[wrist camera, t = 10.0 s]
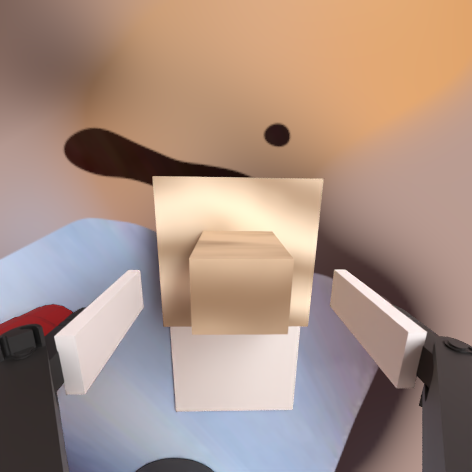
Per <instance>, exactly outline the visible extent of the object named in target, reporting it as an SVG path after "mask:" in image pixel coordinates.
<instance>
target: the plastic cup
mask: <svg viewBox="0 0 472 472" xmlns="http://www.w3.org/2000/svg"><path fill="white" fill-rule="evenodd" d="M72 313H73V312H72V311H71V310H69V309H67V308H65V307H63V306H60V305H54V304H52V305H45V306H42V307H38V308H36V309H34V310H32V311H30V312H28V313H26V314H23V315H21V316H19V317H15V318H13V319H11V320H9V321H6V322H4V323H2V324H0V335H2V334H3V333H5V332H7V331H9V330H11V329H13V328H16V327H19V326H23V325H27V324H39V325H41V326H42V328H43V332H44V336H46V335H47V334H48V333H49V332H50V331H52V330H53V329H54V328H55V327H56V326H58V325H59V324H60V323H61V322H62V321H64V320H65V319H66V318H67V317H68V316H69V315H70V314H72Z"/></svg>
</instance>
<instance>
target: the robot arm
mask: <svg viewBox="0 0 472 472" xmlns="http://www.w3.org/2000/svg"><path fill="white" fill-rule="evenodd" d="M330 307H331V308H332V309H333V310H334V311H335V313H336V314H337V315H338V316H339V318H340V319H341V320H342V321H343V323H344V324H345V325H346V326H347V328H348V329H349V330H350V331H351V333H352V334H353V335H354V336H355V337H356V339H357V340H358V341H359V342H360V344H361V345H362V346H363V347H364V349H365V350H366V351H367V352H368V354H369V355H370V356H371V357H372V358H373V360H374V361H375V362H376V363H377V365H378V366H379V367H380V368H381V370H382V371H383V372H384V373H385V375H386V376H387V377H388V378H389V379H390V381H391V382H392V383H393V384H394V386H395V387H396V388H414V385H415V381H416V377H417V376H418V377H419V378H420V379H421V380H422V382H423V383H424V387H423V391H422V395H421V399H420V403H419V406H421V407H422V409H423V411H422V413H423V414H422V421H423V422H422V423H423V424H422V426H423V427H422V428H423V437H422V439H423V440H422V441H423V442H422V443H423V445H422V446H423V448H422V449H423V451H422V453H423V456H422V460H423V461H422V462H423V463H422V466H423V469H422V472H472V347H471V346H470V345H468V344H466V343H464V342H462V341H459V340H457V339H454V338H450V337H442V336H438V335H437V334H436V333H434V332H433V331H432V330H430V329H429V328H427V327H426V326H425V325H423V324H422V323H421V322H418V320H417V319H415V318H414V317H412V316H411V315H410V314H409V313H407V312H406V311H404V310H403V309H401V308H399V307H396V306H395V305H391V304H390V303H388V302H387V301H386V300H384V299H383V298H382V297H380V296H379V295H378V294H377V293H375V292H374V291H373V290H371V289H370V288H369V287H367V286H366V285H365V284H363V283H362V282H361V281H360V280H358V279H357V278H355V277H354V276H353V275H352V274H350V273H349V272H348V271H346V270H334V277H333V286H332V294H331V302H330ZM142 309H143V296H142V286H141V275H140V270H128V271H127V272H126V273H125V274H124V275H122V276H121V277H120V278H119V279H118V280H117V281H116V282H115V283H113V284H112V285H111V286H110V287H109V288H108V289H107V290H106V291H104V292H103V293H102V294H101V295H100V296H99V297H98V298H97V299H96V300H94V301H93V302H92V303H91V304H90V305H89V306H88V307H87V308H81V309H79V310H77V311H75V312H73V313H72V314H70V315H69V316H68V317H67V318H66V319H65V320H64V321H62V322H61V323H60V324H59V325H58V326H56V327H55V328H54V329H53V330H52V331H50V332H49V333H48V334H47V335H46V336H44V332H43V328H42V326H41V325H39V324H27V325H23V326H19V327H16V328H13V329H11V330H9V331H7V332H5V333H3V334H2V335H0V472H69V468H68V461H67V455H66V449H65V442H64V436H63V429H62V423H61V416H60V410H59V403H58V397H57V393H56V392H57V390H58V389H59V388H60V387H61V386H62V384H63V383H64V387H65V392H66V395H75V394H86V392H87V391H88V389H89V388H90V386H91V385H92V383H93V382H94V380H95V379H96V377H97V376H98V374H99V373H100V371H101V370H102V368H103V367H104V365H105V364H106V363H107V361H108V360H109V358H110V357H111V355H112V354H113V352H114V351H115V349H116V348H117V346H118V345H119V343H120V342H121V340H122V339H123V337H124V336H125V334H126V333H127V331H128V330H129V328H130V327H131V325H132V324H133V322H134V321H135V319H136V318H137V316H138V315H139V313H140V312H141V310H142ZM137 472H214V471H212V470H211V469H210V468H208V467H206V466H205V465H203V464H200V463H198V462H195V461H191V460H186V459H164V460H159V461H155V462H152V463H150V464H148V465H145V466H144V467H142V468H141V469H139V470H138V471H137Z"/></svg>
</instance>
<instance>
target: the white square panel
mask: <svg viewBox="0 0 472 472" xmlns="http://www.w3.org/2000/svg"><path fill="white" fill-rule="evenodd" d="M170 332H171V346H172V360H173V375H174V389H175V403H176V412H179V411H244V410H293V399H294V388H295V378H296V367H297V356H298V345H299V334H300V326H289V327H288V334H273V335H192V327H170Z"/></svg>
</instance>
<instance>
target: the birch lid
mask: <svg viewBox="0 0 472 472" xmlns="http://www.w3.org/2000/svg"><path fill="white" fill-rule="evenodd" d="M322 188H323V179H296V178H295V179H293V178H292V179H291V178H231V177H167V176H153V189H154V202H155V217H156V231H157V244H158V258H159V272H160V285H161V299H162V313H163V327H192V335H273V334H288V327H289V326H308V320H309V310H310V301H311V291H312V282H313V273H314V263H315V254H316V244H317V234H318V226H319V216H320V207H321V197H322Z"/></svg>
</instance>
